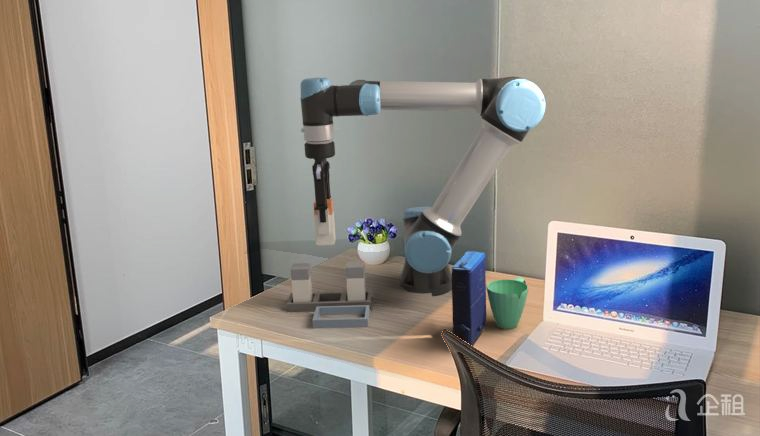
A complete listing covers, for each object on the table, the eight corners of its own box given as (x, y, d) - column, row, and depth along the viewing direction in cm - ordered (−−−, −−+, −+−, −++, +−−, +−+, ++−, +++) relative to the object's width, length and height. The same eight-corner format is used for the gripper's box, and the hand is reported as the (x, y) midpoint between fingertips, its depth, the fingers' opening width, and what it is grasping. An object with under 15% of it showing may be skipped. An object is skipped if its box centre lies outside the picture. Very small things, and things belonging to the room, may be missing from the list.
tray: (369, 316, 176) (369, 305, 175) (368, 330, 168) (367, 318, 167) (317, 317, 177) (316, 306, 176) (313, 331, 168) (312, 320, 167)
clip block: (373, 300, 186) (373, 289, 185) (372, 313, 178) (371, 302, 177) (291, 302, 187) (290, 292, 186) (285, 315, 179) (284, 305, 178)
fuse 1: (312, 301, 184) (310, 263, 182) (310, 308, 180) (307, 268, 177) (296, 302, 185) (293, 263, 182) (293, 308, 180) (290, 269, 177)
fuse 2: (366, 300, 184) (364, 261, 181) (365, 306, 180) (363, 267, 177) (349, 300, 184) (347, 262, 181) (348, 307, 180) (345, 267, 177)
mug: (518, 336, 161) (519, 296, 158) (480, 328, 166) (480, 290, 163) (539, 313, 173) (540, 276, 170) (503, 307, 178) (503, 270, 175)
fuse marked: (335, 239, 180) (333, 198, 177) (334, 244, 175) (331, 203, 172) (318, 240, 180) (315, 199, 177) (316, 245, 175) (313, 203, 172)
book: (472, 353, 154) (471, 269, 148) (449, 349, 156) (447, 267, 151) (488, 327, 166) (488, 249, 161) (467, 324, 169) (466, 247, 163)
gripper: (308, 136, 179) (315, 222, 185) (299, 147, 162) (306, 241, 168) (337, 135, 179) (342, 221, 185) (330, 146, 162) (336, 240, 168)
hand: (325, 230), depth 177 cm, fingers closed on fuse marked, 4 cm apart
